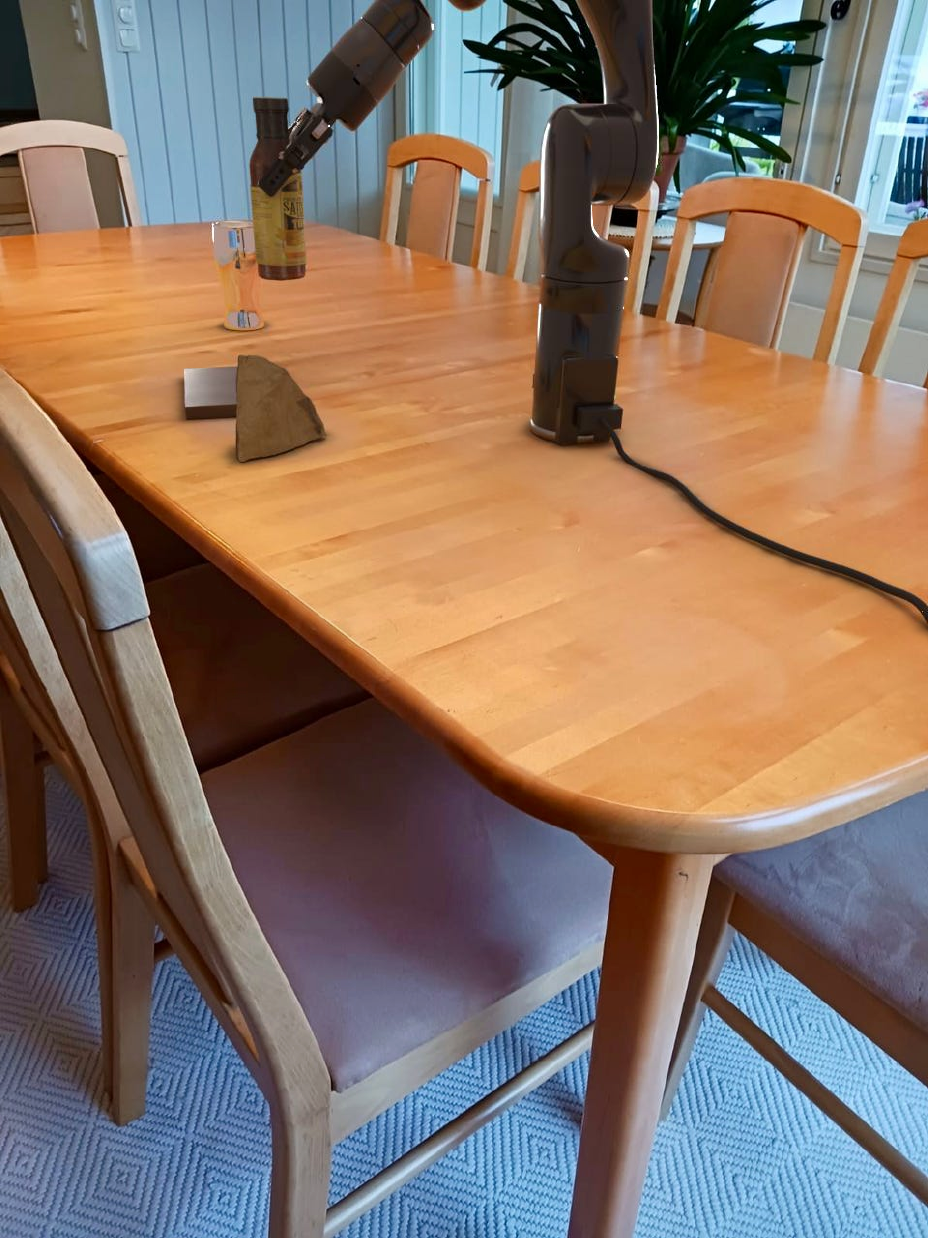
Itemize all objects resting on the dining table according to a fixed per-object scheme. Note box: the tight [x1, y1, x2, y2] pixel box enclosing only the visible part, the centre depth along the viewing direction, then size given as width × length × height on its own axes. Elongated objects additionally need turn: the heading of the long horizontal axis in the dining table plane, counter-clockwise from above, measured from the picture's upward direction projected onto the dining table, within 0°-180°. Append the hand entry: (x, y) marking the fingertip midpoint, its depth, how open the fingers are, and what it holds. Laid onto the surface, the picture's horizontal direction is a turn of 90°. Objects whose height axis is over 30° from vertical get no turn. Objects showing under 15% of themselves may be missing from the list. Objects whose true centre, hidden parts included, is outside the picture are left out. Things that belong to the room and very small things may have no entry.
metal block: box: [183, 366, 237, 420], centre depth 117 cm, size 16×12×2 cm
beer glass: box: [211, 220, 265, 332], centre depth 144 cm, size 7×7×15 cm
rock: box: [234, 354, 327, 463], centre depth 100 cm, size 11×9×10 cm
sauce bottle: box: [248, 96, 308, 282], centre depth 113 cm, size 6×6×20 cm
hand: (262, 187), depth 112 cm, fingers closed on sauce bottle, 6 cm apart
